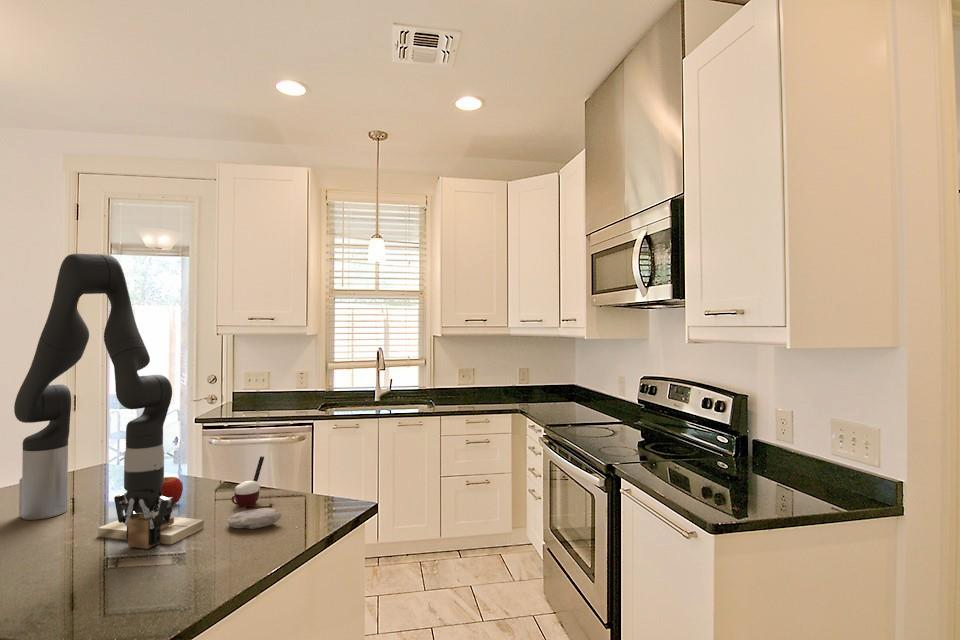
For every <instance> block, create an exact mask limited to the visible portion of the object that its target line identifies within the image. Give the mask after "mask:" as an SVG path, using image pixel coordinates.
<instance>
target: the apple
mask: <svg viewBox="0 0 960 640" xmlns="http://www.w3.org/2000/svg"><path fill="white" fill-rule="evenodd" d="M183 490H184V486H183V482H182V481H181V479H180V478H178V477H177V476H164V484H163V485H162V487H161V492H162V494H163V496H164V497H166V498H170V497H173V498H174V503H173V506H174V505H175V504H178V502H179V501H180V500H181V498H182V494H183ZM159 504H160V503H159Z"/></svg>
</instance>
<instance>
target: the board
mask: <svg viewBox="0 0 960 640" xmlns="http://www.w3.org/2000/svg"><path fill="white" fill-rule="evenodd" d="M173 517H174V523H173V524H171V525H169V526H167V527H165V528H162V529H161V539H160V541H159V543H158V544H163V545H172V544H175V543H177V542H178V541H181V540H183V539H185V538H187V537H188V536H191V535H193V534H195V533H197V532H198V531H201V530H203V529H204V524H205V523H204V521H205V519H198V518H188V517H178V516H177V517H176V516H173ZM97 537H100V538H108V539H117V540H125V541H126V540H127V526H125V523H123V522H122V523H119V521H118V519H117V520H114V521H112V522H109V523H107V524H105V525H102V526H100V527H97ZM127 541H128V540H127Z"/></svg>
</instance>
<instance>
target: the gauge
mask: <svg viewBox="0 0 960 640" xmlns="http://www.w3.org/2000/svg"><path fill="white" fill-rule="evenodd" d="M174 517H175V516H170V521H169V523H167V524H164V525H162V526H161V529H162V528H165V527H167V526H169V525H171V524H173V523H174ZM154 522H156V517H154ZM149 529H150V527H149V520H147V519H145V517H144V514H143V513H142V514H140V515H139V516H135V517H133V518H132V519H128V540H127V544H128V545H127V547H130V548H135V549H136V548H137V549H150V548H152V547H154V546H156V545H158V544H159V543H157V544H155V545H153V546H150V545H149Z"/></svg>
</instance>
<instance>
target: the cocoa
mask: <svg viewBox="0 0 960 640" xmlns="http://www.w3.org/2000/svg"><path fill="white" fill-rule="evenodd" d="M264 460H265V456H264V455H260V456H259V459H258V463H257V466H256V470H255V474H254V477H253V480H246V481H243V482H241V483H239V484H238V485H236V486H235V487H234V495H233V496H232V497H231V502H232V503H233V504H234V505H236V506H239V505H240V506H239V507H244V506H245V507H250V506H249V505H251V506H253V505H255V504H256V503H257V501H258V499H259V496H260V489H261V485H260V483H259V482H258V481H259V477H260V474H261V472H262V471H261V470H262V466H263V463H264Z"/></svg>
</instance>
